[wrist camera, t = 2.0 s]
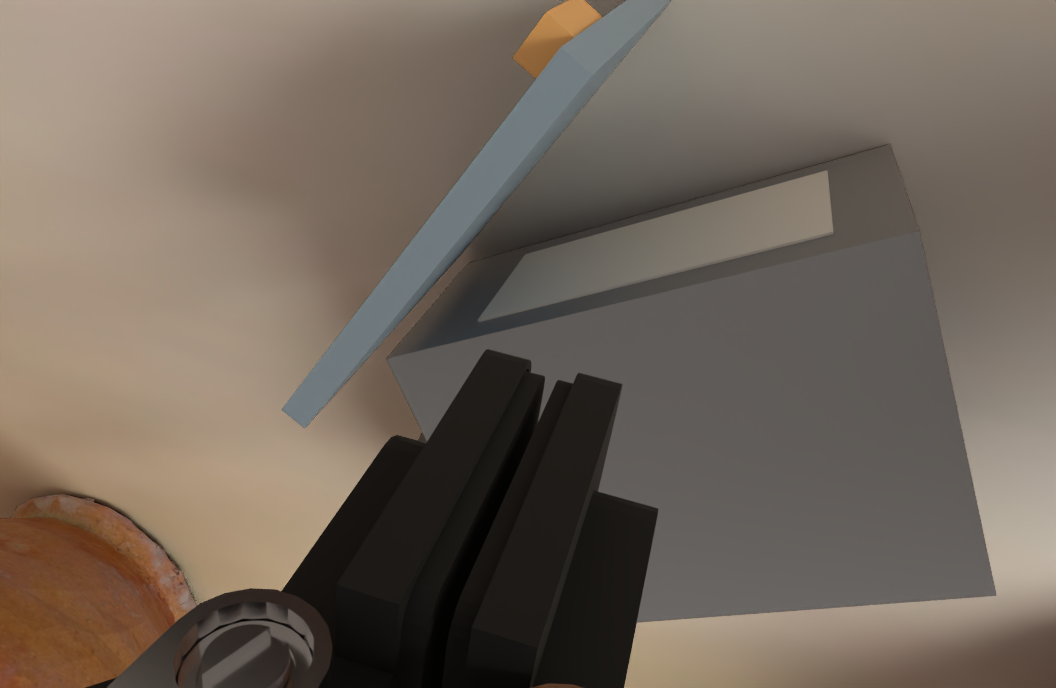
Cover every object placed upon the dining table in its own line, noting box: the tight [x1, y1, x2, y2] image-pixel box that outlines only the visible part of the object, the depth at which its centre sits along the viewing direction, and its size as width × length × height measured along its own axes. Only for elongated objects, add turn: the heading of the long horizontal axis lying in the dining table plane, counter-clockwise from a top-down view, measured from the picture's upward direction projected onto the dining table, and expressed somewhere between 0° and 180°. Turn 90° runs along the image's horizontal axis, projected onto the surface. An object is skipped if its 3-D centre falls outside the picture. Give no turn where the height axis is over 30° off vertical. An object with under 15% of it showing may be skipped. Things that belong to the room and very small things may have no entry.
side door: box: [282, 0, 671, 428], centre depth 25 cm, size 12×2×12 cm, turn 142°
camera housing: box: [386, 144, 996, 622], centre depth 30 cm, size 18×12×8 cm, turn 112°
